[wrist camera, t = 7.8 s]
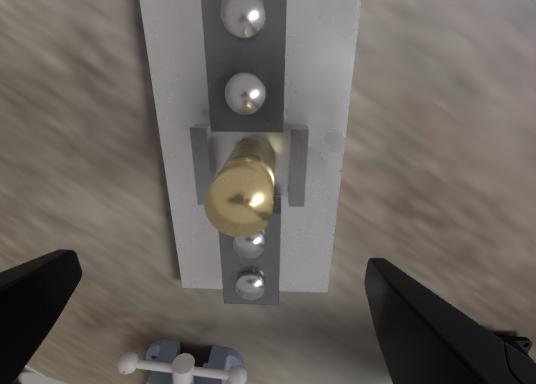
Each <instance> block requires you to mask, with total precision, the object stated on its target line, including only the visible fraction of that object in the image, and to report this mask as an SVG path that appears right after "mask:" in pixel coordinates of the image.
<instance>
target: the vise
mask: <svg viewBox="0 0 536 384" xmlns="http://www.w3.org/2000/svg"><path fill="white" fill-rule="evenodd" d="M180 345H181V341H176V340H168V339H160V340H156V341H154V342H153V343H151V345H150V346H149V348H148V350H147V352H146V360H140V359H139V357H138V355H137V354H136V353H135V352H126V353H124V354H123V355H122V356H121V357H120V358H119V360H118V363H117V369H118V371H119V372H120V373H121V374H130V373H132V372H133V371H134V370H135V369H144V370H151V372H150V374H149V376H148V379H147V381H146V384H224V383H225V382H226V381H227V380H229V383H230V384H245V383H246V380H247V371H246V369H245V368H244V367H243V366H242V363H243V360H242V357H241V356H240V354H239V353H238V352H236V351H235V350H233V349H231V348H227V347H220V346H212V349H211V353H210V357H209V361H208V363H204V364H203V367H196V366H194V365H195V360H194V357H193V356H192V355H191V354H188V353H183V354H180Z"/></svg>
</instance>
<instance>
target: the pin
mask: <svg viewBox="0 0 536 384" xmlns="http://www.w3.org/2000/svg"><path fill="white" fill-rule="evenodd" d="M274 178H275V155H274V153H273V151H272V149H271V148H270V147H269V146H268V145H267V144H266V143H265V142H263V141H260V140H257V139H248V140H244V141H242V142H240V143H239V144H238V145H236V147H235V148H234V149H233V151H232V153H231V154H230V156H229V157H228V159H227V161H226V162H225V164H224V165H223V167H222V169H221V170H220V172H219V173H218V175H217V177H216V178H215V180H214V181H213V183H212V185H211V186H210V188H209V189H208V191H207V193H206V196H205V200H204V209H205V213H206V216H207V218H208V220H209V221H210V223H211V224H212V225H213V226H214V227H215V228H216V229H217V230H219V231H220V232H222V233H224V234H226V235H229V236H233V237H248V236H252V235H254V234H257V233H258V232H260V231H261V230H263V229H264V228H265V227H266V226H267V224H268V223H269V221H270V219H271V217H272V212H273V196H274Z"/></svg>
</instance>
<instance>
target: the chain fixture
mask: <svg viewBox="0 0 536 384" xmlns="http://www.w3.org/2000/svg"><path fill="white" fill-rule="evenodd" d="M140 7H141V13H142V20H143V27H144V33H145V40H146V47H147V53H148V60H149V67H150V74H151V80H152V87H153V94H154V100H155V107H156V114H157V120H158V127H159V134H160V140H161V147H162V154H163V160H164V167H165V174H166V180H167V187H168V194H169V201H170V207H171V214H172V221H173V227H174V234H175V241H176V247H177V254H178V261H179V267H180V274H181V281H182V287H183V288H200V289H223V297H224V303H229V304H258V305H279V291H293V292H324V293H327V292H328V283H329V275H330V266H331V257H332V249H333V240H334V231H335V223H336V214H337V205H338V197H339V188H340V180H341V171H342V162H343V154H344V145H345V136H346V128H347V119H348V110H349V102H350V93H351V85H352V76H353V67H354V59H355V50H356V41H357V33H358V24H359V15H360V7H361V0H140ZM248 139H257V140H260V141H263V142H265V143H266V144H267V145H268V146H269V147H270V148H271V149H272V151H273V153H274V155H275V178H274V196H273V212H272V217H271V219H270V221H269V223H268V224H267V226H266V227H265V228H264V229H263V230H261V231H260V232H258V233H257V234H254V235H252V236H248V237H233V236H229V235H226V234H224V233H222V232H220V231H219V230H217V229H216V228H215V227H214V226H213V225H212V224H211V223H210V221H209V220H208V218H207V216H206V213H205V209H204V200H205V196H206V193H207V191H208V189H209V188H210V186H211V185H212V183H213V181H214V180H215V178H216V177H217V175H218V173H219V172H220V170H221V169H222V167H223V165H224V164H225V162H226V161H227V159H228V157H229V156H230V154H231V153H232V151H233V149H234V148H235V147H236V145H238V144H239V143H240V142H242V141H244V140H248Z"/></svg>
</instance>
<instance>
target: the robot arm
mask: <svg viewBox="0 0 536 384" xmlns="http://www.w3.org/2000/svg"><path fill="white" fill-rule="evenodd" d="M81 277H82V269H81V266H80V263H79V260H78V257H77V254H76V252H75V251H73V250H64V249H60V250H56V251H54V252H51V253H49V254H46V255H44V256H41V257H39V258H36V259H33V260H31V261H28V262H26V263H23V264H21V265H18V266H16V267H13V268H11V269H8V270H6V271H3V272H0V384H13V383H14V381H15V380H16V379H17V377H18V376H19V374H20V373H21V371H22V370H23V369H24V367H25V366H26V364H27V363H28V362H29V360H30V359H31V357H32V356H33V354H34V353H35V352H36V350H37V349H38V347H39V346H40V345H41V343H42V342H43V340H44V339H45V337H46V336H47V335H48V333H49V332H50V330H51V329H52V327H53V326H54V324H55V322H56V321H57V319H58V318H59V316H60V314H61V312H62V311H63V309H64V307H65V306H66V304H67V302H68V300H69V299H70V297H71V295H72V293H73V292H74V290H75V288H76V287H77V285H78V283H79V281H80V280H81ZM365 290H366V294H367V298H368V302H369V307H370V311H371V315H372V319H373V324H374V328H375V332H376V336H377V339H378V342H379V345H380V348H381V351H382V354H383V356H384V359H385V362H386V365H387V368H388V371H389V373H390V376H391V379H392V382H393V384H536V363H535V362H534V361H533V360H532V359H531V358H530V357H529V355H528V352H529V350H530V348H531V346H532V342H531V341H530V340H529V339H528V338H527V337H509V336H496V335H494V334H493V333H491V332H490V331H488V330H487V329H485V328H484V327H483V326H481V325H480V324H478V323H477V322H475V321H474V320H472V319H471V318H470V317H468V316H467V315H465V314H464V313H462V312H461V311H459V310H458V309H457V308H455V307H454V306H452V305H451V304H449V303H448V302H446V301H445V300H444V299H442V298H441V297H439V296H438V295H436V294H435V293H433V292H432V291H431V290H429V289H428V288H426V287H425V286H423V285H422V284H420V283H419V282H418V281H416V280H415V279H413V278H412V277H410V276H409V275H407V274H406V273H405V272H403V271H402V270H400V269H399V268H397V267H396V266H394V265H393V264H392V263H390V262H389V261H387V260H386V259H384V258H370V259H369V260H368V264H367V269H366V275H365Z"/></svg>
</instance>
